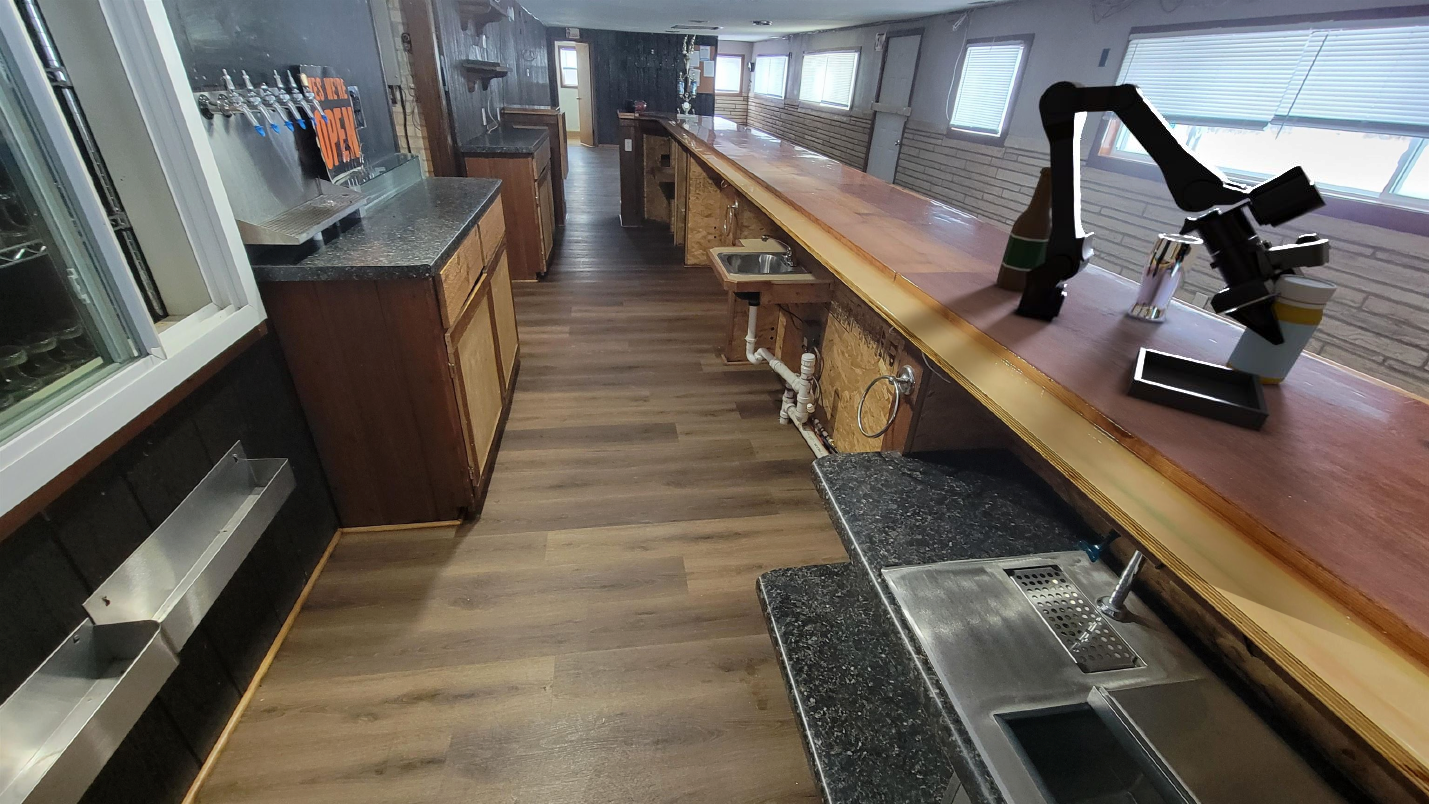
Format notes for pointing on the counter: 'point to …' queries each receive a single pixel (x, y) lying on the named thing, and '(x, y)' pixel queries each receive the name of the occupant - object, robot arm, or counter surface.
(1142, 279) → the beer glass
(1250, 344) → the bottle
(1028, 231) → the beer bottle
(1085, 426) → the counter surface
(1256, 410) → the tray
